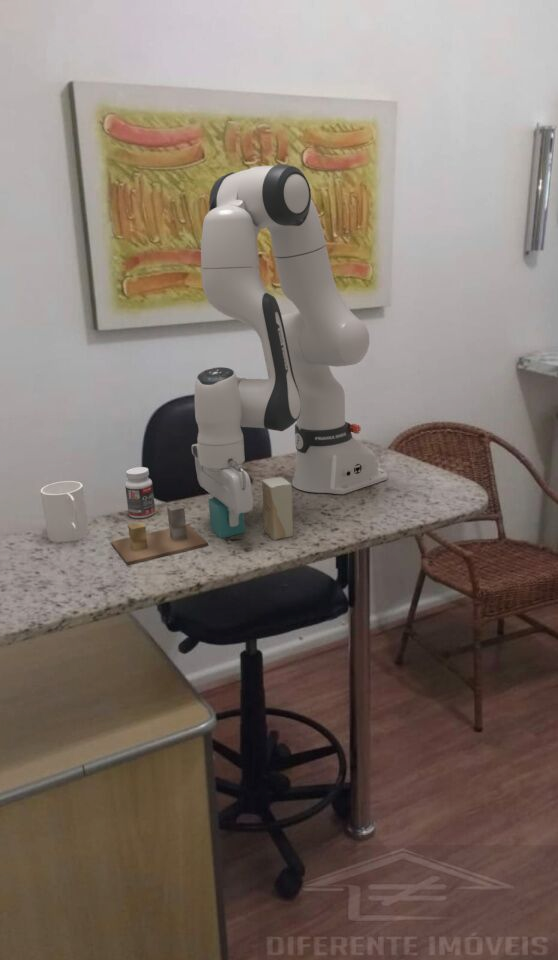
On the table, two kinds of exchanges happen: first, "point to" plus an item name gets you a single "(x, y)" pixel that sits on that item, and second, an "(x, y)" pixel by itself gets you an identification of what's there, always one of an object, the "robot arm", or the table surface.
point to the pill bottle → (139, 493)
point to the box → (277, 507)
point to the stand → (159, 539)
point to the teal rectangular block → (223, 520)
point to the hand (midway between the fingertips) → (226, 519)
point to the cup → (65, 511)
